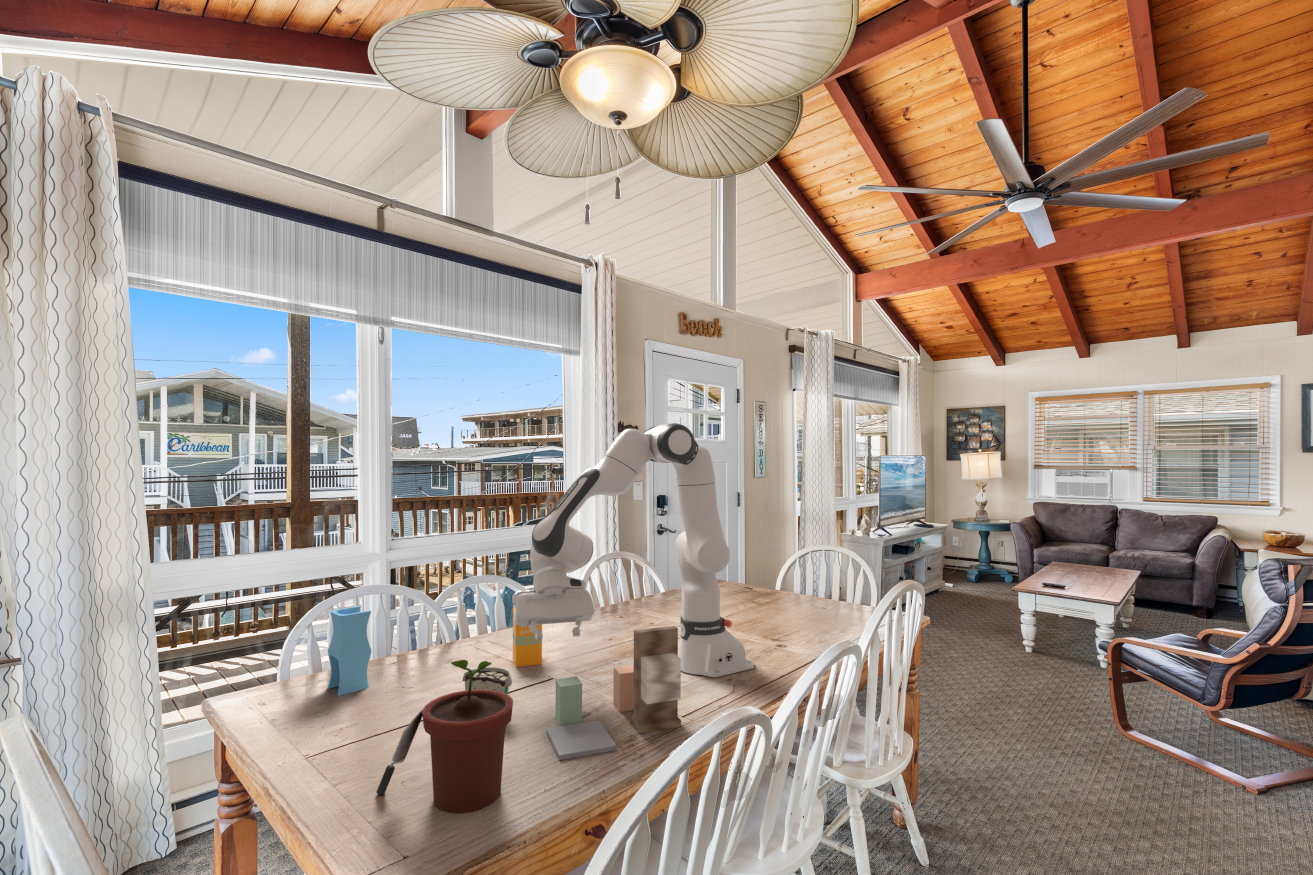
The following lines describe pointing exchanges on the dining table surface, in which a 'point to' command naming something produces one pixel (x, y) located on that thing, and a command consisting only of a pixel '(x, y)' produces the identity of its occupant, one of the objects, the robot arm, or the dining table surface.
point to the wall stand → (656, 679)
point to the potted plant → (461, 746)
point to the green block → (568, 701)
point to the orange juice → (526, 645)
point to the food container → (489, 680)
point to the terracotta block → (623, 688)
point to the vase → (349, 650)
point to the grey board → (580, 740)
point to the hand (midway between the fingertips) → (558, 637)
